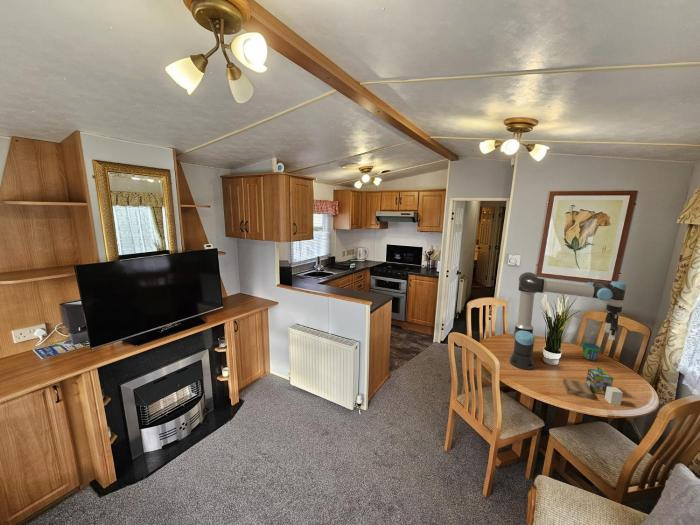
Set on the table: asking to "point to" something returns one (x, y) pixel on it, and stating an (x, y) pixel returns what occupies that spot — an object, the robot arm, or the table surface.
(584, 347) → the snack cup
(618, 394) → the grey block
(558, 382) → the table surface
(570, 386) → the walnut block
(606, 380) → the chalk box
